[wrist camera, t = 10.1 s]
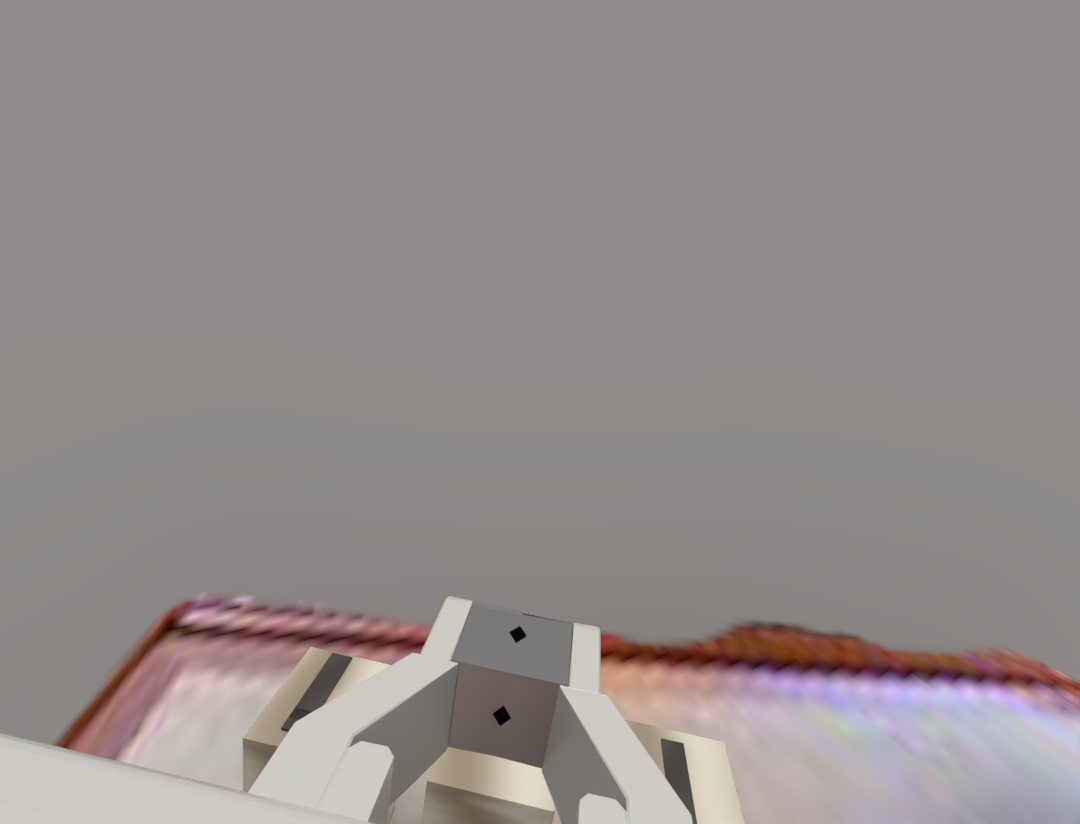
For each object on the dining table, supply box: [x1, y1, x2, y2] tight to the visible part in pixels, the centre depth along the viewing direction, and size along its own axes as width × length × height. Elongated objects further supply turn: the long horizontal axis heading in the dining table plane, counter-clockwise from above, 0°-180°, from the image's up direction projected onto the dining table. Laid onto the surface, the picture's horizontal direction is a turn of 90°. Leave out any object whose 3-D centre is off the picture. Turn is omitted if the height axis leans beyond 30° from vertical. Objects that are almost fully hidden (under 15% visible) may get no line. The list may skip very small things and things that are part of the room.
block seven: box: [243, 647, 396, 824], centre depth 29 cm, size 6×6×11 cm
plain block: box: [421, 747, 555, 824], centre depth 28 cm, size 6×6×11 cm
